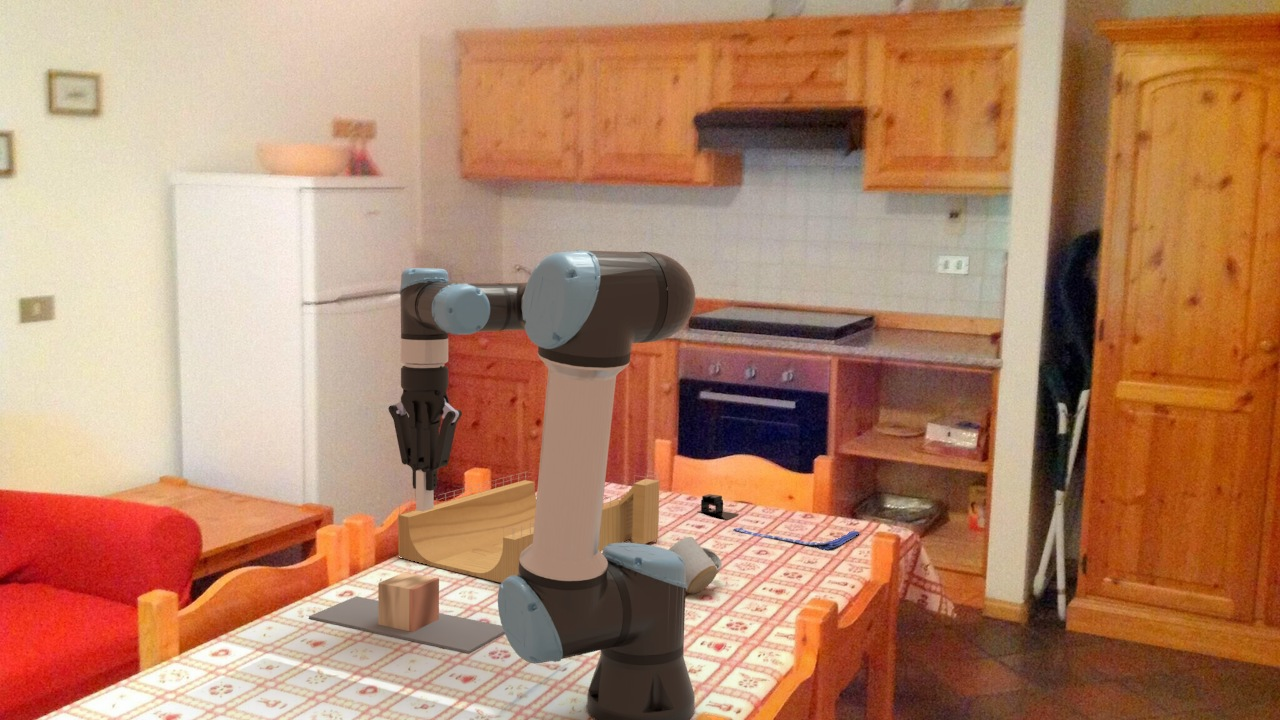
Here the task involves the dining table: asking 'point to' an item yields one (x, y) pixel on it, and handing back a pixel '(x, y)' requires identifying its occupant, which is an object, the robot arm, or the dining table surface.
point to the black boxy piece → (718, 503)
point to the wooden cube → (408, 601)
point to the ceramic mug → (697, 564)
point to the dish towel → (824, 545)
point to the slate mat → (438, 633)
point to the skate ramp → (511, 527)
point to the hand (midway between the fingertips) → (424, 509)
